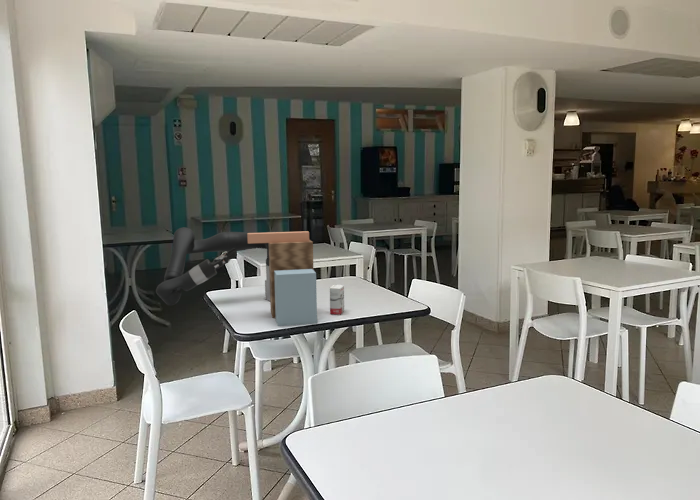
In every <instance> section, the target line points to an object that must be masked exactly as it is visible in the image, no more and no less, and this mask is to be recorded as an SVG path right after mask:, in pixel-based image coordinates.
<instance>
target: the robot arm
mask: <svg viewBox="0 0 700 500" xmlns="http://www.w3.org/2000/svg"><path fill="white" fill-rule="evenodd" d="M269 232H270V231H266V232H263V233H269ZM271 232H275V231H271ZM247 233H248V232H246V231H245V232H244V231H243V232H242V231H221V232H219V233H216V234H215V235H212V236H210V237H207V238H204V239H196V237H195V233H194V230H192V229H191V228H189V227H186V226H185V227H179V228H178V229H176V231H175V232H174V234H173V243H172V244H173V245H172V247H173V248H172V252H171V254H170V258H169V260H168V261H169V262H168V265H167V267H166V269H165V273H164V277H163V281H162V282H161V283H159V284H158V285H157V287H156V289H155V293H156V294H157V296H158V297H159V298H160V299H161V300H162V301H163V302H164V304H166V305H167V306H174V305H176V304H177V303H178V302H179V301H180V299H181V296H182V290H183V291H185V292H189V291H190V290H192V289H194V288H195V287H198V285H201V284H203V283H205V282H206V281H208V280H209V279H211V278H213V277H215V276H216V275H217V274H218V272H217V270H218V269H221V268H222V267H223V266H225V265H226V264H228V263H229V262H230V261H232V260H233V259H234V258H235V257H237V256H238V252H241V251H247V250H251V249H252V250H253V249H261V250H262V249H264V250H266V259H265V274H266V275H265V276H266V279H265V280H264V291H265V292H264V293H265V294H264V296H265V297H264V298H265V300H267V301H269V302H270V274H269V243H250V244H248V236H247ZM210 252H211V253H215V252H224V253H222V254H219V255H218V257H214V259H213V261H210V260H209V259H208V258H207V259H205V260H203V261H201V262H200V263H198V264H197V265H195V266H193V267H192V268H191V269H189V270H188V271H186V272H185V273H184V271H185V266H186V258H187V255H190V254H199V253H210Z"/></svg>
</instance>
